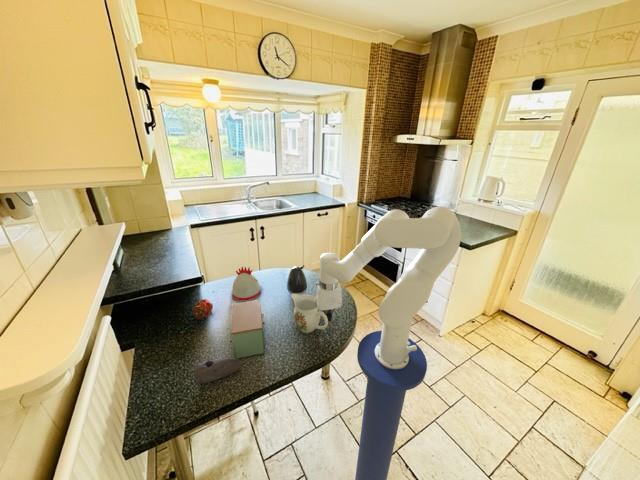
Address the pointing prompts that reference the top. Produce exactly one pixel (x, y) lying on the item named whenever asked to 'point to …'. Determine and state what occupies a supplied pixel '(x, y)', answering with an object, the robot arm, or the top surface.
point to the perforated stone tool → (216, 369)
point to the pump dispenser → (296, 281)
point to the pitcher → (307, 313)
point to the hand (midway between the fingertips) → (327, 318)
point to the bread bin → (247, 328)
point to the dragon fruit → (202, 309)
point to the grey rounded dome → (245, 285)
